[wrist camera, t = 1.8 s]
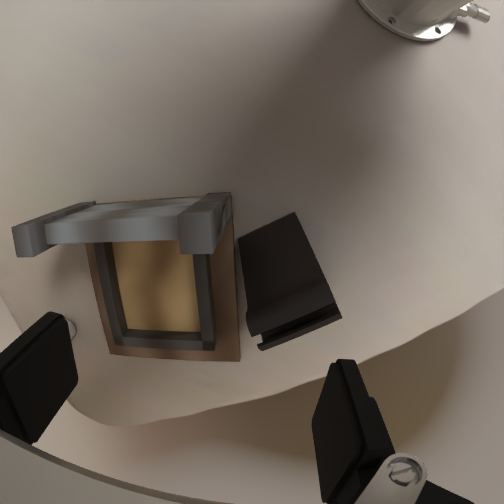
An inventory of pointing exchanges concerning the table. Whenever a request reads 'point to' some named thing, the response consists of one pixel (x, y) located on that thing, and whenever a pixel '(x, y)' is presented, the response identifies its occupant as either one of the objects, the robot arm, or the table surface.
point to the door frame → (154, 272)
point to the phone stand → (284, 284)
